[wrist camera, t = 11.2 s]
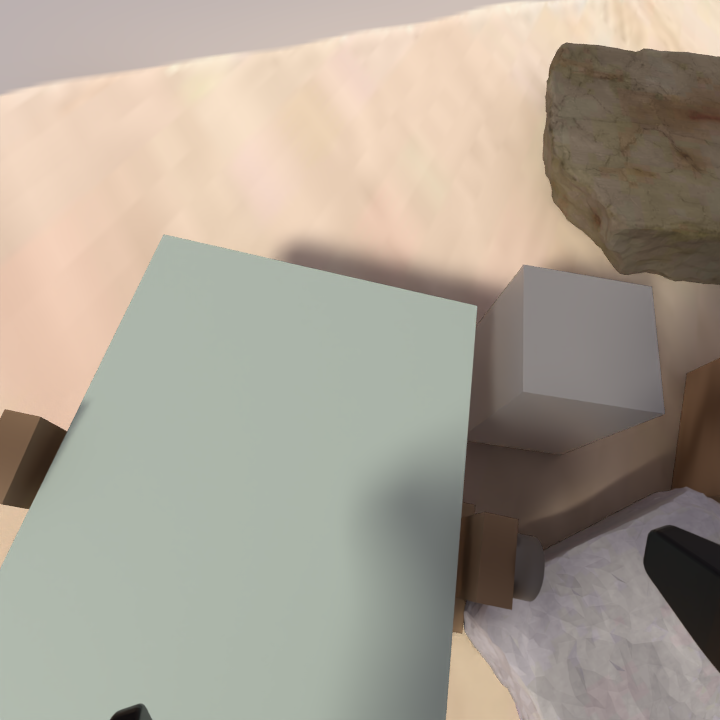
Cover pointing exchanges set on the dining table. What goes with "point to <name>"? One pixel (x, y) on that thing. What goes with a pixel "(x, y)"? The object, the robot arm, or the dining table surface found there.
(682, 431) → the plinth
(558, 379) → the grey block
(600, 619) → the stone block
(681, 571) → the robot arm
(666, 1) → the dining table surface
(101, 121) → the dining table surface
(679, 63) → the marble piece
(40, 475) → the trapdoor frame
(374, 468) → the trapdoor
